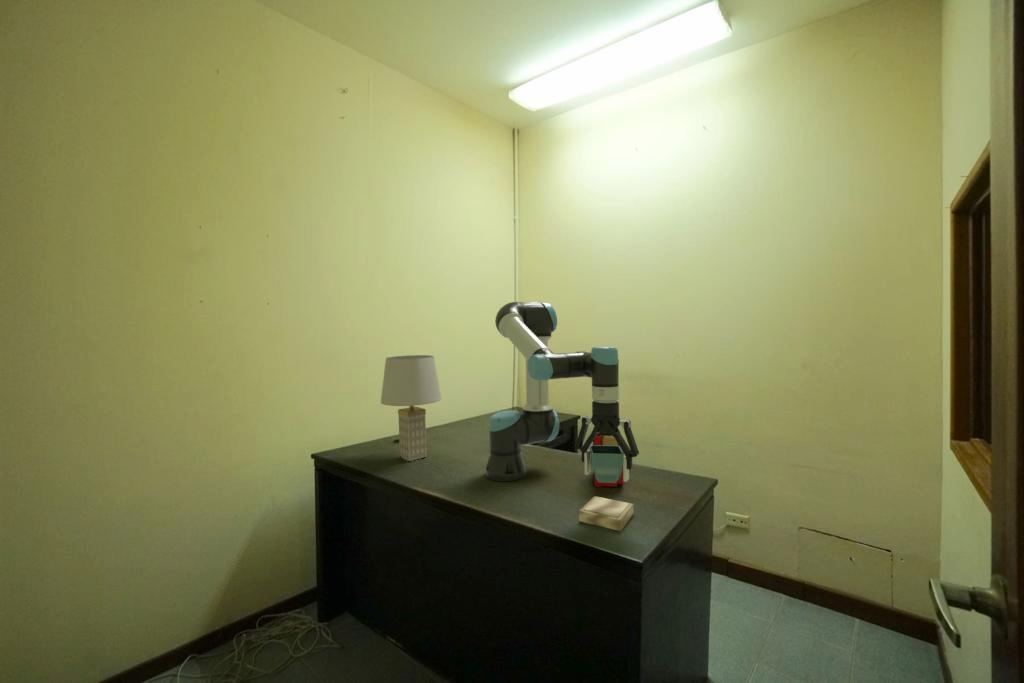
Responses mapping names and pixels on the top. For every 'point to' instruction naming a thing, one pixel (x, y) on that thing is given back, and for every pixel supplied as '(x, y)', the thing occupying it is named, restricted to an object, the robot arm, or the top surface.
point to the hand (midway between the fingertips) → (606, 476)
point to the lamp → (411, 398)
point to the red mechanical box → (609, 441)
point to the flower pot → (607, 462)
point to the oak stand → (606, 513)
